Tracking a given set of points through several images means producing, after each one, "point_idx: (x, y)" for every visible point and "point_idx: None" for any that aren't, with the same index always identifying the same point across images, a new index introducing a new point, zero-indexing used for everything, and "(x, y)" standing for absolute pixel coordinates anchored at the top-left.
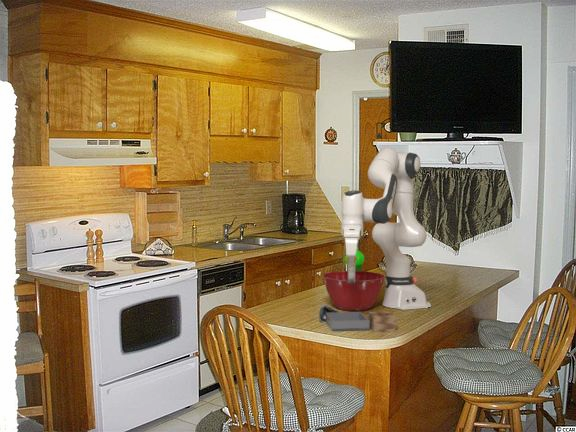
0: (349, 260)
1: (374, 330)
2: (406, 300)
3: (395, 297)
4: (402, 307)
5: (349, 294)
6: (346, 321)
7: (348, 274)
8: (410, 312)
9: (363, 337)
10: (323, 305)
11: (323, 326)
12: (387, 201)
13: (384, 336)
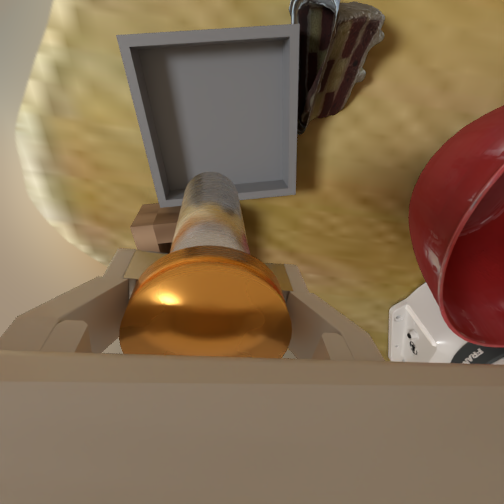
0: (77, 289)
1: (142, 208)
2: (409, 333)
3: (431, 316)
4: (394, 312)
5: (439, 180)
6: (136, 112)
7: (193, 197)
8: (360, 319)
9: (64, 160)
10: (336, 7)
11: (213, 4)
12: None
13: (96, 228)
